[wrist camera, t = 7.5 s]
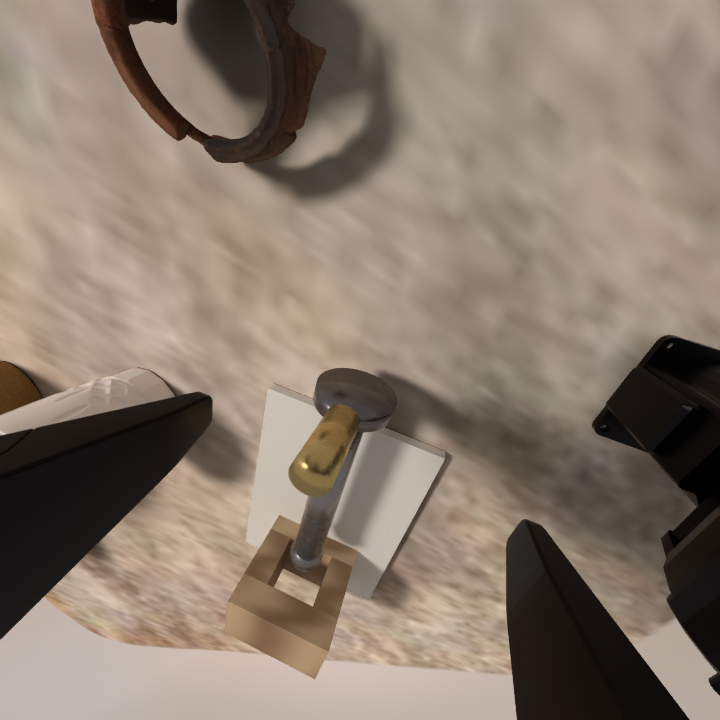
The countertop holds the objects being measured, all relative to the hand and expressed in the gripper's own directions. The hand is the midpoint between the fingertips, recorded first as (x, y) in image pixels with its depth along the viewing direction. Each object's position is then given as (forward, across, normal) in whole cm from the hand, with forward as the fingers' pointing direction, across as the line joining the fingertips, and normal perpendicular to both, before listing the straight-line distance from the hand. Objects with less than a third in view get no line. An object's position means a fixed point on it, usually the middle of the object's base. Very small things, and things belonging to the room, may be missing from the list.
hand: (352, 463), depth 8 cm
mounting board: (+12, +2, +18) cm, 22 cm away
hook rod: (+10, +2, +11) cm, 15 cm away
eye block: (+12, +2, +24) cm, 26 cm away
